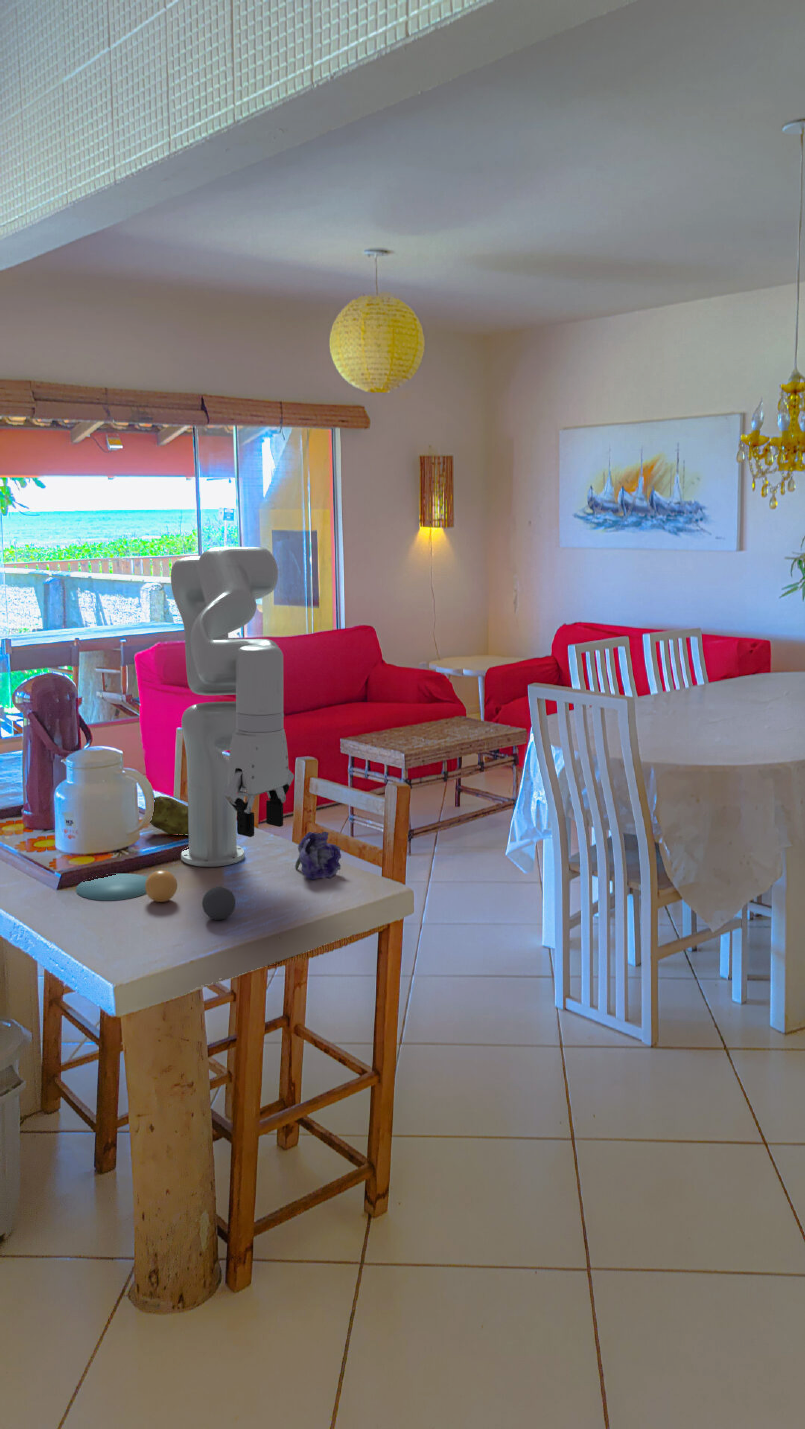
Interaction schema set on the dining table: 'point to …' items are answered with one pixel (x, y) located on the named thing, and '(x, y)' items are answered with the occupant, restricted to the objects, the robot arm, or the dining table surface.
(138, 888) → the teal flat disc
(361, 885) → the dining table surface
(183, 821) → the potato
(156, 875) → the object ball
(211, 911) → the dark grey ball
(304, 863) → the flower
